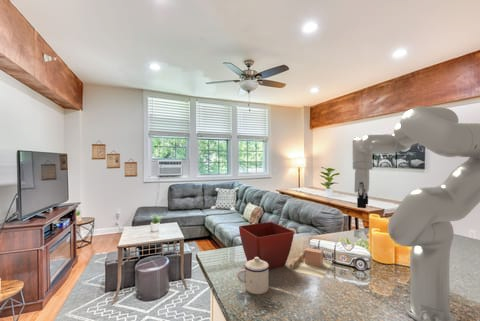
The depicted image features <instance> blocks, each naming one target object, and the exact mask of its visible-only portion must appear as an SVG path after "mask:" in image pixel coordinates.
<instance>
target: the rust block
mask: <svg viewBox="0 0 480 321" xmlns="http://www.w3.org/2000/svg"><path fill="white" fill-rule="evenodd" d="M304 250H305V263H307V264H311V265H316V266H320V267H321V265H322V264H323V253H324V252H323V249H317V248H312V247H306V248H305V249H304Z"/></svg>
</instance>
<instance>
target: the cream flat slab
mask: <svg viewBox="0 0 480 321" xmlns="http://www.w3.org/2000/svg"><path fill="white" fill-rule="evenodd" d="M332 264H333V262H332V261H329V260H325V259H323V264H322V265H321V267H320V266H316V265H311V264H307V263H305V249H304V250H303V251H302V252H301V253H299V254H298V256H296V258H295V259H294V260H293V261H292V262H291V263H290V264H289V270H290V271H292V272H295V273H296V272H297V273H300V274H304V275H307V276H312V277H317V278H321V279H324V278H325V276H326V275H327V273H328V271H329V269H330V268H331V265H332Z"/></svg>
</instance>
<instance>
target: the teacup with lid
mask: <svg viewBox="0 0 480 321" xmlns="http://www.w3.org/2000/svg"><path fill="white" fill-rule="evenodd" d="M244 268H245V269H244ZM244 268H243V269H242V268H241V269H240V270H238V271H237V274H236V275H237V276H236V277H237V280H238V282H240V284H241V283H242V284H245V290H246V291H247V292H248V293H249V294H253V295H262V294H265V293H267V292H268V291H269V288H270V286H269V285H270V284H269V281H270V280H269V270H268V268H269V265H268V263H267V262H266V261H263V260H260V259H259V257H255V258H254V259H253V260H250V261H246V262H245V264H244ZM241 273H245V280H244V279H241V278H240V274H241Z"/></svg>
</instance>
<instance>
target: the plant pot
mask: <svg viewBox="0 0 480 321" xmlns="http://www.w3.org/2000/svg"><path fill="white" fill-rule="evenodd" d="M238 229H239V230H238V231H239V236H240V237H239V238H240V240H241V241H240V242H241V246H242V249H243V253H244V256H245V259H246V262H248V261H250V260H253V259H254V258H255V257H259V259H260V260H263V261H266V262H267V263H268V265H269V268H268V271H270V270H273V269H278V268H283V267H285V266H286V264H287V261H288V257H289V256H290V252H291V248H292V245H293V240H294V235H295V231H294V230H291V229H290V228H287V227H284V226H282V225H280V224H278V223H276V222H273V221H268V222H260V223H252V224H245V225H239V226H238Z"/></svg>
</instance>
